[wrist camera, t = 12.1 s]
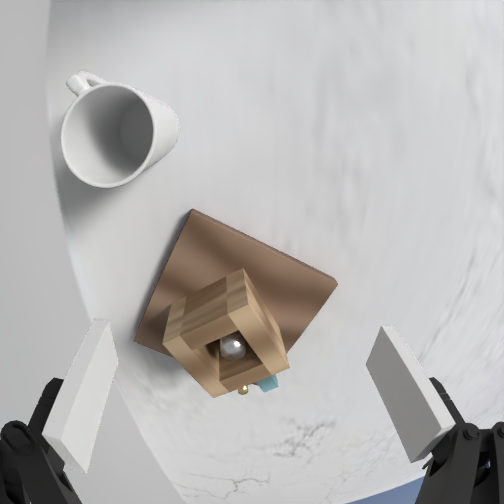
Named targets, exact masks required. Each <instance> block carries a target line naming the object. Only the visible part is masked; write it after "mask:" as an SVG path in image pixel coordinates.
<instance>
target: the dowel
mask: <svg viewBox="0 0 504 504" xmlns="http://www.w3.org/2000/svg"><path fill="white" fill-rule="evenodd" d="M238 393H239V394H242V395H244V394H247V393H248V386H244V387H242V388H239V389H238Z"/></svg>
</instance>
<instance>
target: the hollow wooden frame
mask: <svg viewBox="0 0 504 504" xmlns="http://www.w3.org/2000/svg"><path fill="white" fill-rule="evenodd" d="M237 330H239V331H240V332H241V334H242V335H243V336H244V339H245V348H246V353H245V355H244V356H243V357H242V358H240V359H238V360H227V359H225V358H224V357H222V355H221V353H220V338H222V337H224V336H226V335H229V334H231V333H233V332H235V331H237ZM162 344H163V345H164V346H165V347H166V348H167V350H168V351H169V352H170V353H171V354H172V355H173V356H174V357H175V359H176V360H177V361H178V362H179V363H180V364H181V365H182V366H183V367H184V368H185V369H186V371H187V372H188V373H189V374H190V375H191V376H192V377H193V378H194V379H195V380H196V381H197V382H198V383H199V384H200V385H201V386H202V387H203V388H204V389H205V390H206V391H207V392H208V393H209V394H210V395H211V396H212V397H213V398H215V397H217V396H220V395H223V394H226V393H228V392H231V391H234V390H236V389H239V388H242V387H244V386H247V385H249V384H252V383H254V382H256V383H257V384H258V386H259V387H260V388H261V389H262V390H263V392H267V391H269V390H272V389H274V388H276V387H278V382H277V377H276V373H279V372H281V371H283V370H286V369H288V368H290V366H289V363H288V359H287V355H286V351H285V348H284V344H283V340H282V337H281V333H280V329H279V326H278V325H277V323H276V321H275V320H274V318H273V317H272V315H271V313H270V312H269V310H268V308H267V307H266V305H265V303H264V302H263V300H262V298H261V297H260V295H259V293H258V292H257V290H256V289H255V287H254V285H253V284H252V282H251V280H250V279H249V277H248V275H247V274H246V272H245V270H244V269H243V268H242V269H240V270H238V271H236V272H234V273H232V274H230V275H228V276H226V277H224V278H222V279H220V280H218V281H216V282H214V283H212V284H210V285H208V286H206V287H204V288H202V289H200V290H198V291H196V292H194V293H192V294H190V295H188V296H186V297H184V298H182V299H180V300H178V301H176V302H174V303H172V304H171V308H170V312H169V317H168V321H167V325H166V330H165V334H164V338H163V343H162Z"/></svg>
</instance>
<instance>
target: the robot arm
mask: <svg viewBox="0 0 504 504" xmlns="http://www.w3.org/2000/svg"><path fill="white" fill-rule="evenodd" d="M118 364H119V360H118V357H117V353H116V349H115V345H114V340H113V336H112V332H111V327H110V323H109V320H102V319H94V320H93V322H92V324H91V326H90V328H89V330H88V332H87V334H86V336H85V338H84V340H83V342H82V344H81V346H80V348H79V350H78V352H77V354H76V356H75V358H74V360H73V362H72V364H71V366H70V369H69V371H68V373H67V375H66V377H65V379H64V380H63V379H58V378H53V379H52V380H51V381H50V382H49V383H48V384H47V385H46V387H45V389H44V391H43V393H42V397H40V399H39V402H38V404H37V406H36V408H35V410H34V413H33V415H32V418H31V420H30V422H29V424H28V427H27V426H26V424H24V423H23V422H21V421H17V420H16V421H10V422H9V423H7V424H5V425H4V427H3V428H2V430H1V433H0V438H1V440H0V504H30V502H31V504H82V503H81V501H80V499H79V498H78V496H77V494H76V493H75V491H74V489H73V487H72V485H71V484H70V482H69V480H68V478H67V476H66V474H65V472H64V471H63V467H64V464H66V465H67V466H68V467H69V469H72V470H75V471H79V472H82V473H87V471H88V466H89V463H90V458H91V455H92V450H93V447H94V443H95V438H96V436H97V432H98V428H99V425H100V421H101V418H102V414H103V411H104V407H105V404H106V401H107V397H108V394H109V391H110V388H111V385H112V382H113V379H114V376H115V373H116V370H117V367H118ZM366 366H367V368H368V370H369V372H370V375H371V377H372V379H373V381H374V383H375V385H376V387H377V389H378V391H379V393H380V396H381V398H382V400H383V402H384V404H385V406H386V408H387V411H388V413H389V415H390V417H391V419H392V422H393V424H394V426H395V428H396V430H397V433H398V435H399V437H400V439H401V442H402V444H403V446H404V449H405V451H406V453H407V456H408V458H409V460H410V463H413V462H416V461H419V460H422V459H424V458H425V457H426V456H427V455H428V454H429V453H430V452H431V453H432V455H433V457H432V458H431V459H430V460H429V461H428V462H427V463H426V464H425V465H424V466H423V468H422V469H425V468H426V467H427V466H428V468H427V471H426V474H425V478H424V480H423V483H422V486H421V489H420V492H419V494H418V497H417V500H416V502H415V504H504V422H497V423H496V424H495V425H494V426H493V427H492V428H491V429H479V428H478V427H477V426H476V425H474V424H472V423H465V421H464V420H463V418H462V416H461V415H460V413H459V411H458V410H457V408H456V406H455V405H454V403H453V402H452V400H450V397H449V395H448V393H446V390H445V389H444V387H443V386H442V384H441V383H440V382H439V381H437V380H436V379H435V378H434V377H432V378H428V377H427V375H426V373H425V372H424V370H423V369H422V367H421V365H420V364H419V362H418V361H417V359H416V358H415V356H414V355H413V353H412V352H411V350H410V349H409V347H408V345H407V344H406V342H405V341H404V339H403V338H402V336H401V335H400V334H399V332H398V331H397V329H396V328H395V326H394V325H386V326H381V328H380V331H379V333H378V336H377V338H376V341H375V343H374V346H373V348H372V351H371V353H370V356H369V358H368V360H367V363H366ZM488 462H490V467H489V465H488Z"/></svg>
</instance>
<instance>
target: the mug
mask: <svg viewBox="0 0 504 504" xmlns="http://www.w3.org/2000/svg"><path fill="white" fill-rule="evenodd" d="M66 85H67V86H68V87H69V89H70V90H71V91H72V92H73V93H75V94H76V95H77V98H76V99H75V101H74V102H73V103H72V104H71V106H70V107H69V109H68V111H67V113H66V115H65V117H64V120H63V123H62V128H61V135H60V142H61V150H62V154H63V157H64V160H65V162H66V164H67V166H68V167H69V169H70V170H71V172H72V173H73V174H74V175H75V176H76V177H77V178H78V179H80V180H81V181H83V182H84V183H86V184H89V185H91V186H94V187H99V188H112V187H117V186H120V185H123V184H125V183H127V182H129V181H131V180H132V179H134V178H135V177H136V176H138V175H139V174H140V173H142V172H143V171H144V170H146V169H147V168H148V167H150V166H151V165H153V164H154V163H156V162H157V161H159V160H160V159H161V158H163V157H164V156H165V155H167V154H168V153H169V152H170V151H171V150H172V149H173V147H174V146H175V144H176V142H177V140H178V136H179V121H178V118H177V116H176V114H175V112H174V111H173V110H172V108H171V107H169V106H168V105H167V104H165V103H163V102H162V101H160V100H158V99H156V98H153V97H151V96H149V95H147V94H145V93H143V92H141V91H139V90H137V89H135V88H132V87H130V86H128V85H125V84H120V83H108V82H107V81H105V80H103V79H101V78H99V77H97V76H95V75H93V74H91V73H88V72H84V71H81V72H78V73H77V74H74V75H72V76H71V77H70V78H69V79H68V80H67V81H66Z"/></svg>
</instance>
